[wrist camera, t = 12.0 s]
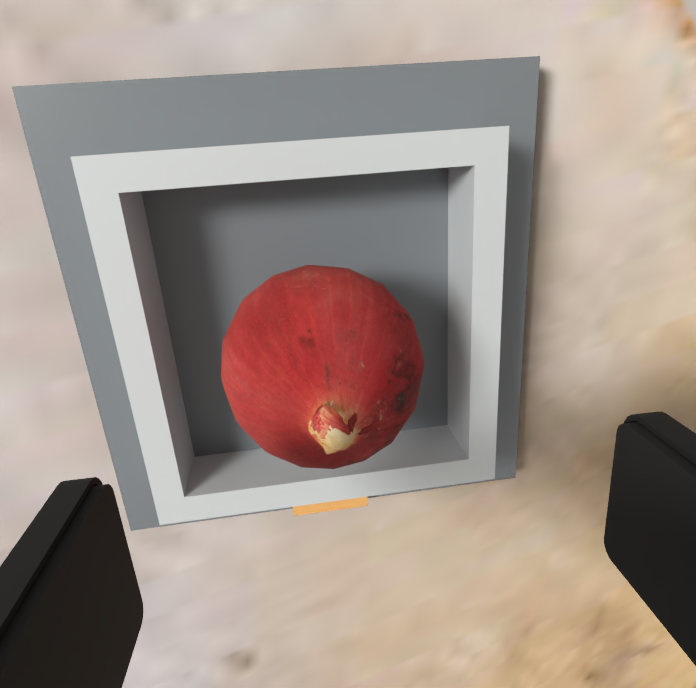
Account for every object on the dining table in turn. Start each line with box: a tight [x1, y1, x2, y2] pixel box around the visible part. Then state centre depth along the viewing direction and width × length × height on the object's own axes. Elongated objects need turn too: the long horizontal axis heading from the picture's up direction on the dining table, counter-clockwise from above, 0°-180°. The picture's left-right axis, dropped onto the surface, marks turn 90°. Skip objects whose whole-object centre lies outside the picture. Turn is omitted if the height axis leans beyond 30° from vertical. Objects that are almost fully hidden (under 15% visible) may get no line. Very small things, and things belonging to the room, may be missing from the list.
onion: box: [221, 265, 425, 469], centre depth 15 cm, size 6×6×8 cm
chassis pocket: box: [12, 56, 540, 531], centre depth 18 cm, size 16×16×4 cm
